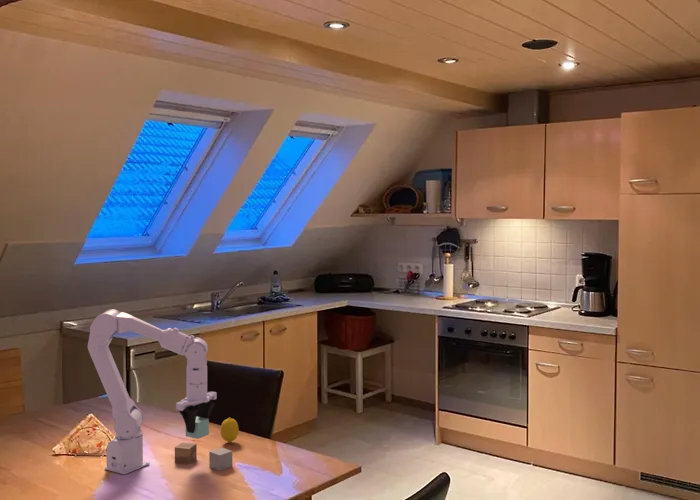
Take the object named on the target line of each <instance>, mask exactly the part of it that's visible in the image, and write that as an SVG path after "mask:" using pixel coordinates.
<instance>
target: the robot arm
mask: <svg viewBox="0 0 700 500" xmlns="http://www.w3.org/2000/svg"><path fill="white" fill-rule="evenodd" d="M89 326H90V327H89V336H88V342H87V350H88V353H89V356H90V358H91V359H92V360H91V361H92V362H93V364H94V368H95V369H96V372H97V374H98V377H99V379H100V382H101V384H102V386H103V388H104V391H105V393H106V396H107V399H108V400H109V403H110V405H111V407H112V408H111V411H112V413H111V415H112V418H113V421H114V424H113V425H114V426H113V431H114V432H115V437H114V438H113V439H112V440H109V442H108V443H107V445H106V466H104V470H106V471H110V472H113V473H117V474H120V475H126V474H129V473H131V472H134V471H136V470H138V469H141V468H144V467H146V466H148V465H150V462H149V461H146V460H144V441H143V440H144V435H143V433H144V432H143V430H142V429H141V427H140V426H141V425H142V423H144V413H143V411H142V410H141V409H140V408H139V407H138V406H137V405H136V403H135V401H134V400H133V398H131V397H130V396H129V393H128V391H127V390H128V389H127V388H126V385H125V383H124V381H123V378H122V375H121V374H120V371H119V368H118V367H117V363H116V362H115V360H114V358H113V354H112V352H111V350H110V347H109V345H110V344H111V342H112V341H113V340H112V339H113V338H114V336H115V335H116V334H117V333H118V334H122V333H123V334H124V333H129V332H133V333H136V334H138V335H141V336H144V337H146V338H150V339H153V340H156V341H157V342H158V343H159V344H160V347H161V348H163V349H165V350H168V351H171V352H173V353H175V354H178V355H180V356H184V357H185V358H186V367H185V368H186V397H185V398H183V399H181V400H180V401H178V402H175V410H176V411H178V412H179V413H180V415H181V417H182V419H183V421H184V424H185V429H186V428H187V432H190V433H194V431H195V421H196V417H202V418H207V419H209V420H210V416H211V413H212V411H213V409H214V408H215V405H216V404H215V403H216V402H215V401H214V400H217V397H218V396H217V394H218V393H217V392H216V391H208V365H207V364H208V359H207V355H208V354H207V353H208V350H209V346H208V342H206V341H205V339H203V338H201V337H195V335H192V334H191V335H188V334H186V333H184V332H181V331H179V328H177V327H174V328H171V327H168V328H166V329H162V328H159V327H158V326H155V325H153V324H151V323H148V322H147V321H145V320H142V319H140V318H138V317H135V316H133V315H131V314H129V313H127V312H123V311H122V312H121V311H119V310H117V309H112V308H111V309H107V310H105V311H104V312H103V313H101V314H98V315H97V316H96V317H95V318H94V319H93V321H92V323H91V324H90V325H89ZM212 400H213V401H212ZM195 407H196V408H195Z"/></svg>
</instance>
